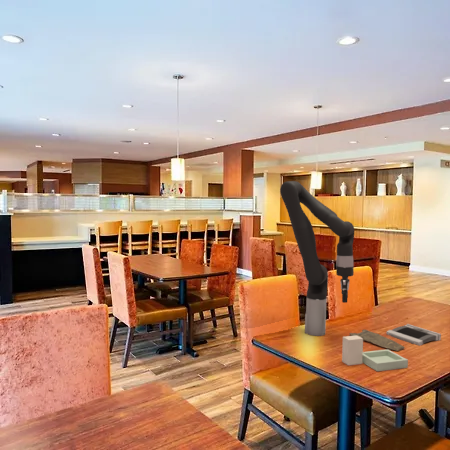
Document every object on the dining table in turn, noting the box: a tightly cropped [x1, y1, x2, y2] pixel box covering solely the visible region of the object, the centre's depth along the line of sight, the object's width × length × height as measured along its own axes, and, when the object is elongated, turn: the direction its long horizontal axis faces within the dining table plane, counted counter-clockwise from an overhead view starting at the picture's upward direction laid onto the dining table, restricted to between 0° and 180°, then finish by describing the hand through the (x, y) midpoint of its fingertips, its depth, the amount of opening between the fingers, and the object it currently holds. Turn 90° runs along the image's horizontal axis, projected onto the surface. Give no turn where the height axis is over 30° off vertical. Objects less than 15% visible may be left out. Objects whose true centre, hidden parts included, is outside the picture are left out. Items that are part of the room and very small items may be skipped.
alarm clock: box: [386, 323, 442, 347], centre depth 187 cm, size 17×5×16 cm
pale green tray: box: [362, 348, 409, 372], centre depth 156 cm, size 11×14×3 cm
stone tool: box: [349, 329, 406, 352], centre depth 181 cm, size 11×3×25 cm
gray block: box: [341, 335, 364, 366], centre depth 156 cm, size 4×6×10 cm, turn 107°
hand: (345, 300), depth 182 cm, fingers open, 8 cm apart
